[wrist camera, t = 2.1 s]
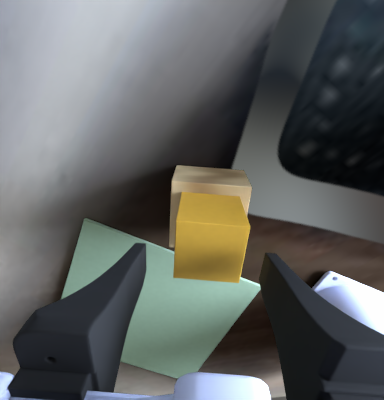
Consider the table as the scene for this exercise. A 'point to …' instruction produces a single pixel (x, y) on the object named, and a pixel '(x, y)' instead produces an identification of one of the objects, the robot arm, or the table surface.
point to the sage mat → (162, 303)
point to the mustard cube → (210, 237)
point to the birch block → (206, 187)
